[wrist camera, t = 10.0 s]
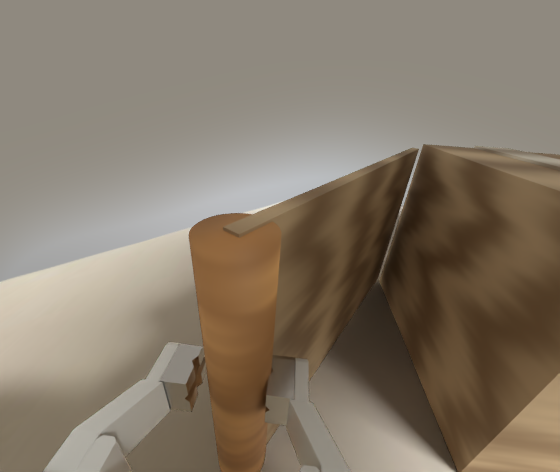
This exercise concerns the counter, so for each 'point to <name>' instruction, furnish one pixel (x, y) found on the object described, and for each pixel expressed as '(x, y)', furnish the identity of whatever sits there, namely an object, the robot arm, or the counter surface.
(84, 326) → the counter surface
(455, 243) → the carton
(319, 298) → the carton flap
